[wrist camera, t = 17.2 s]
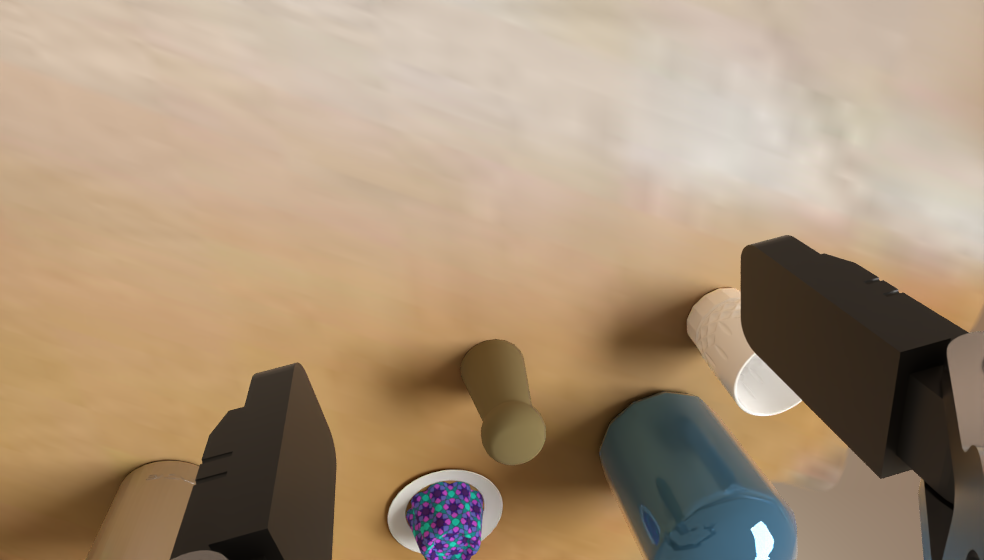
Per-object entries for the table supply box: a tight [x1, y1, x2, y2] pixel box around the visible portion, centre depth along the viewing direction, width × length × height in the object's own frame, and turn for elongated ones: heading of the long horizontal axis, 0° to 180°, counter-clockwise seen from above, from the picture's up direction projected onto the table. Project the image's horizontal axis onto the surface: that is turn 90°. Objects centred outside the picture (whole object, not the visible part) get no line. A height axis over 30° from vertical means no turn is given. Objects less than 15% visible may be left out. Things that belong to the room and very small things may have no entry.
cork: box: [460, 339, 546, 465], centre depth 53 cm, size 6×6×11 cm
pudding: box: [388, 470, 503, 560], centre depth 63 cm, size 12×12×5 cm
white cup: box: [687, 288, 802, 416], centre depth 56 cm, size 8×8×10 cm
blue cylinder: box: [599, 391, 797, 560], centre depth 53 cm, size 14×13×30 cm
